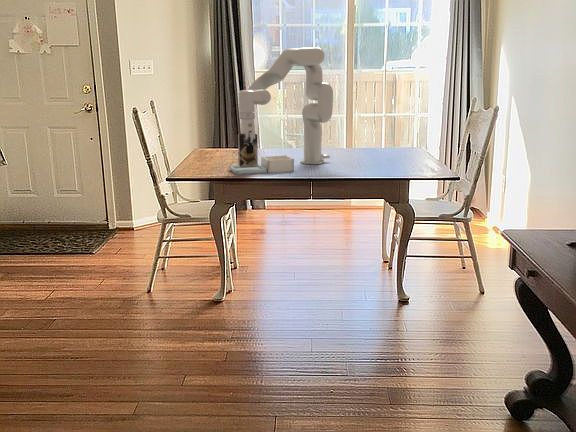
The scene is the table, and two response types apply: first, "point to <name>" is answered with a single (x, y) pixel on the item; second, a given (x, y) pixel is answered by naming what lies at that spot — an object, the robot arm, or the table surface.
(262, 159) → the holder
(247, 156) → the coffee box
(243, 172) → the tray
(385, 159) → the table surface
